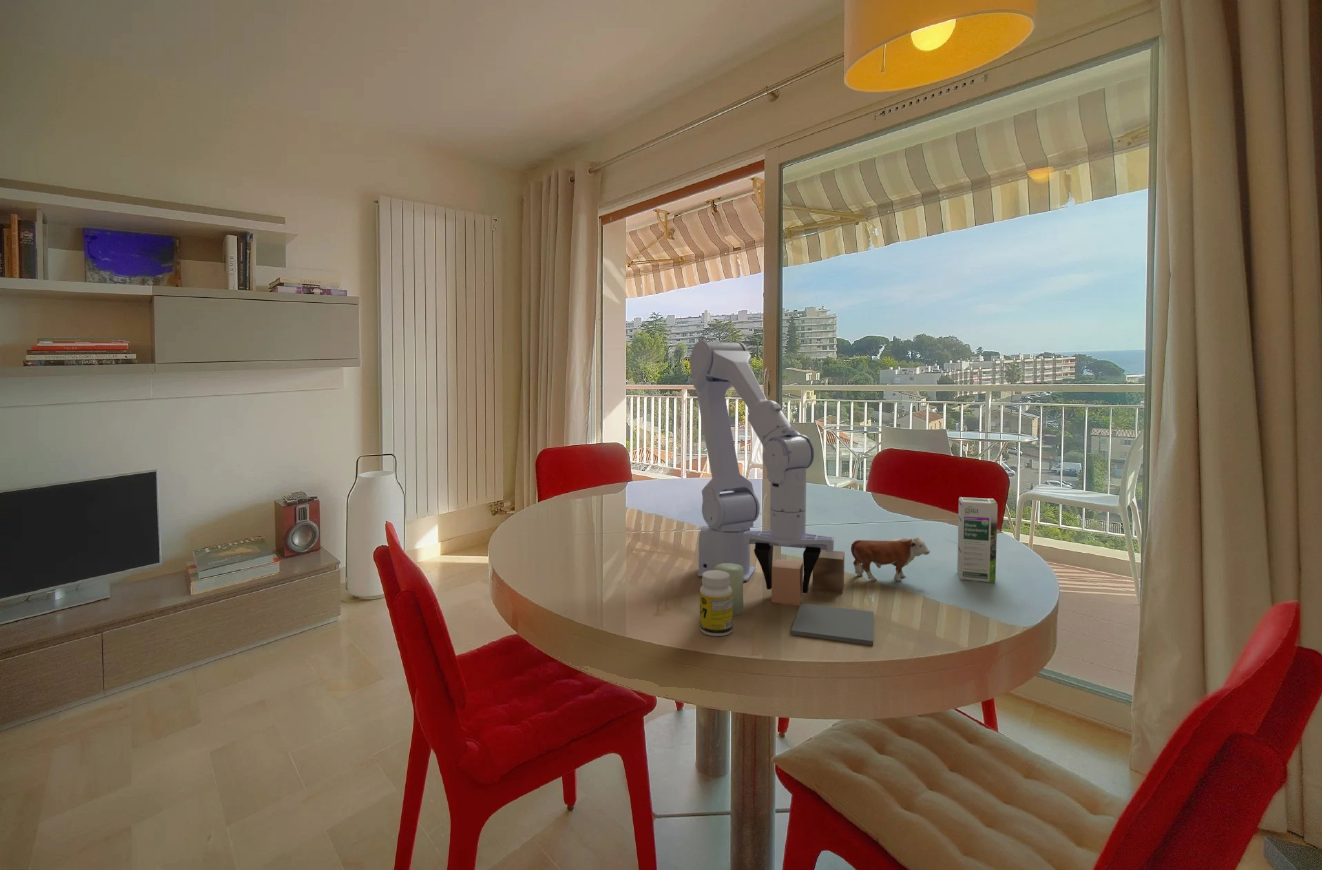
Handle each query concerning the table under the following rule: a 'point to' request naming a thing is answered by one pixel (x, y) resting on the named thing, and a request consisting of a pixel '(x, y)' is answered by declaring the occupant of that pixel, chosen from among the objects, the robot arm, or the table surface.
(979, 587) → the table surface
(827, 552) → the walnut block
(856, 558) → the bull figurine
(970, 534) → the syrup box
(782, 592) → the terracotta brick
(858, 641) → the slate mat
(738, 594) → the sage cylinder
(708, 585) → the supplement bottle
